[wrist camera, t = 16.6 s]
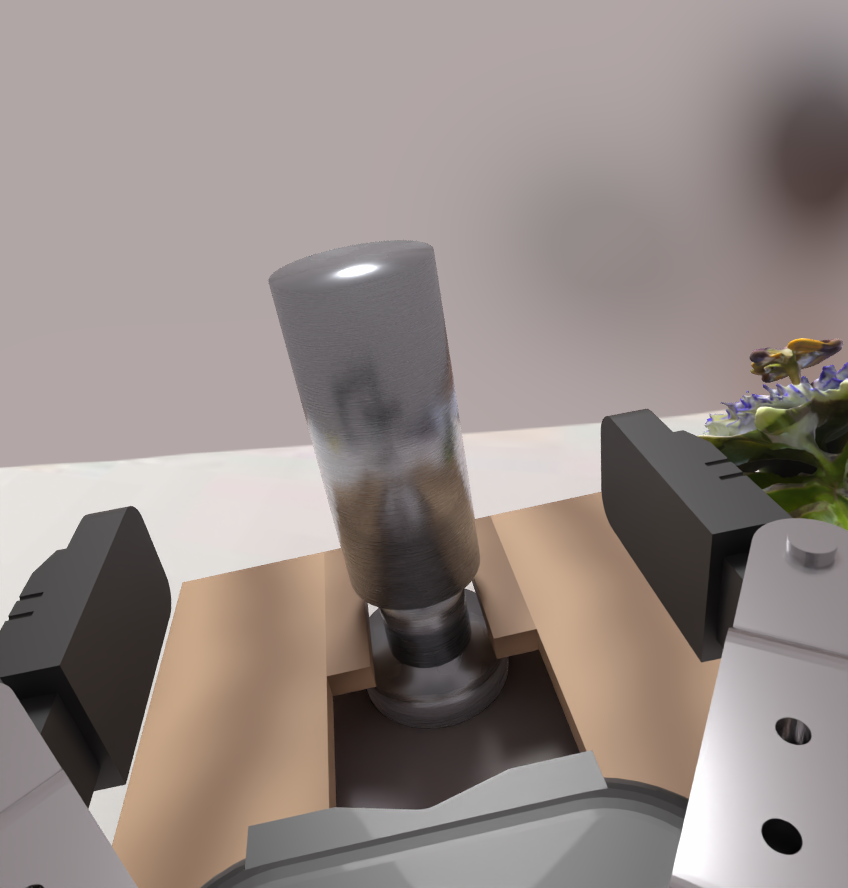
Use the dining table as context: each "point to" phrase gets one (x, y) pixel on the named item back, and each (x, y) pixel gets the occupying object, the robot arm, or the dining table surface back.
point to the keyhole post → (394, 469)
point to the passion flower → (792, 432)
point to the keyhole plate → (352, 669)
